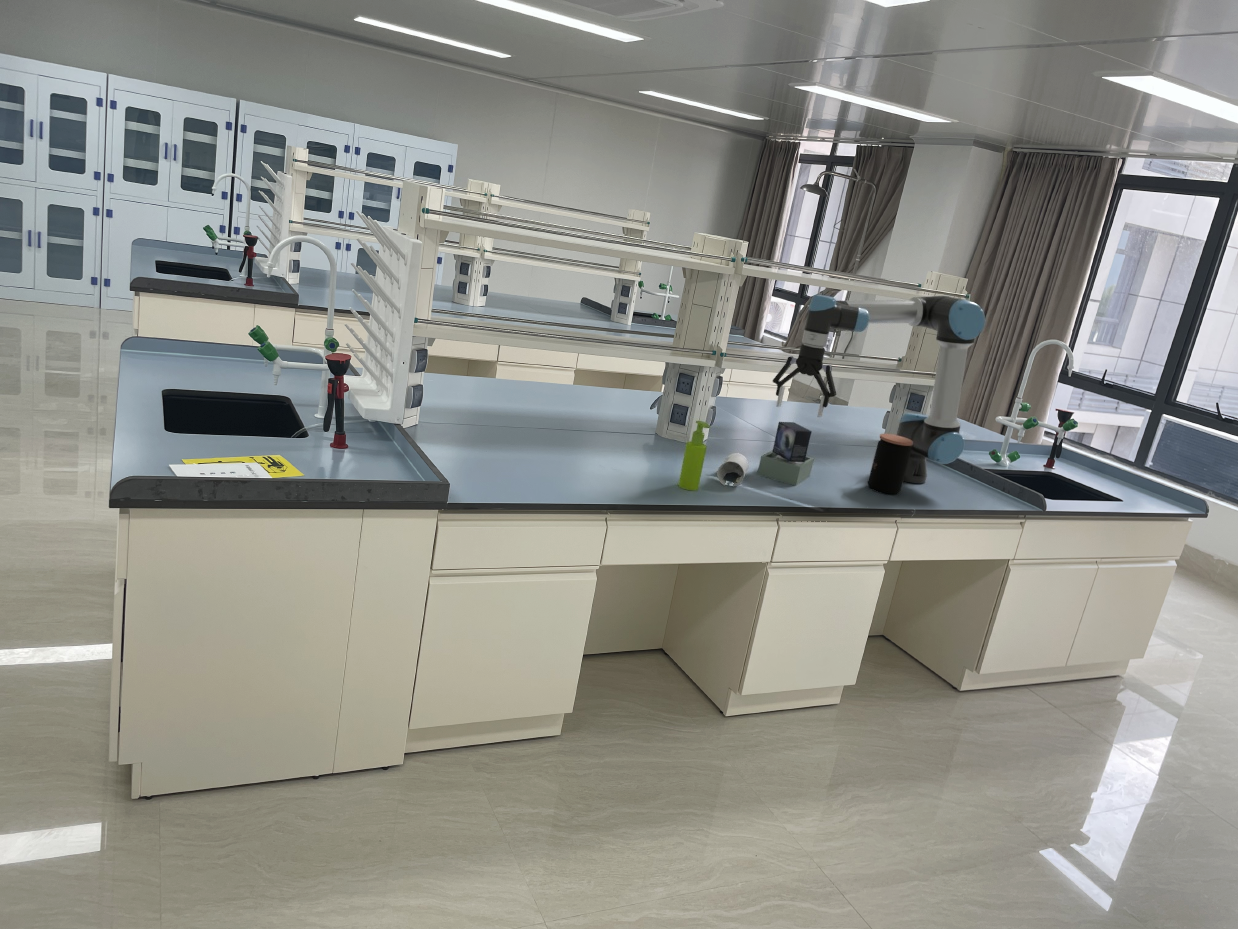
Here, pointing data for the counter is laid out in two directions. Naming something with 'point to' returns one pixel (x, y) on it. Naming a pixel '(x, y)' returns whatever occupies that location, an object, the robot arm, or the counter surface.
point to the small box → (791, 441)
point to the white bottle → (733, 468)
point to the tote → (784, 469)
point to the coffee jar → (890, 464)
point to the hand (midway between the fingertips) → (798, 411)
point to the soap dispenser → (693, 459)
